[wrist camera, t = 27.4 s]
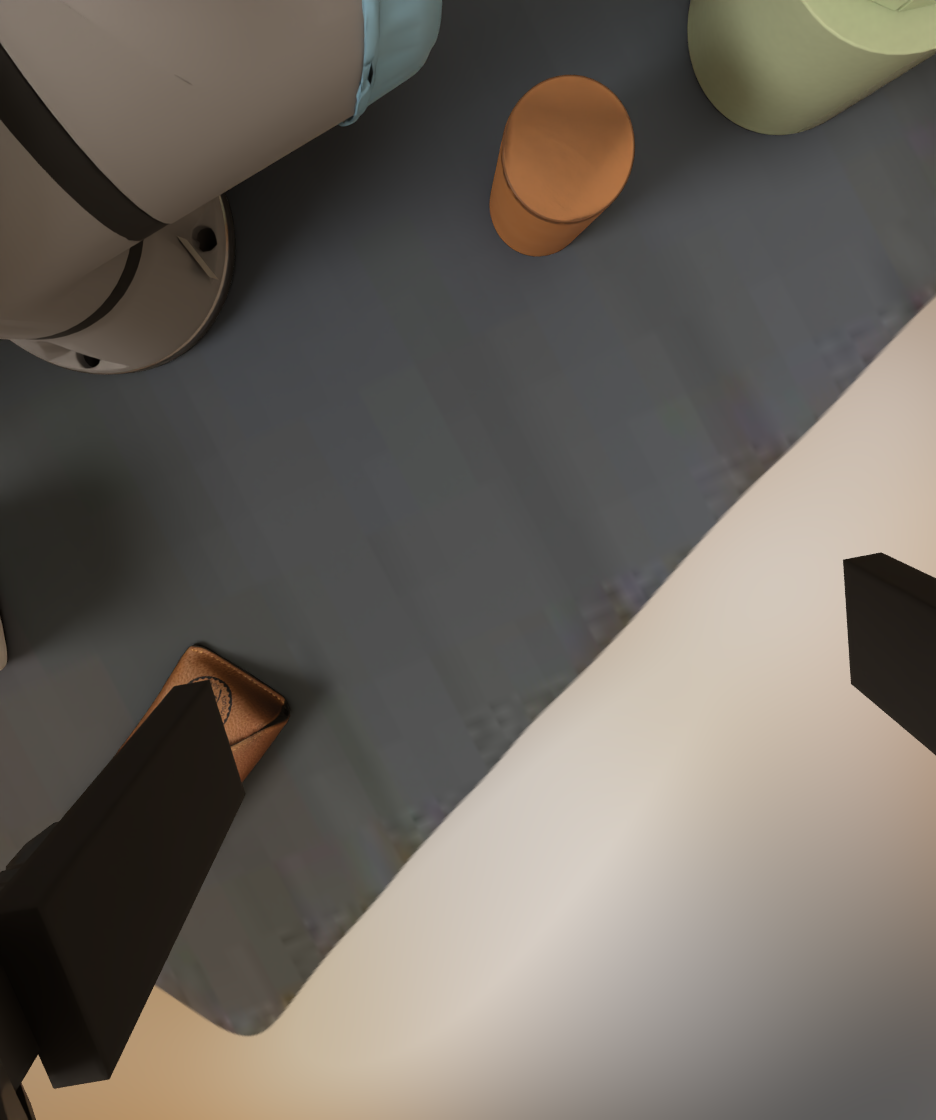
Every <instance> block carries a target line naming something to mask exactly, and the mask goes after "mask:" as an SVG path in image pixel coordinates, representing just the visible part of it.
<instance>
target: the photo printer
mask: <svg viewBox="0 0 936 1120" xmlns="http://www.w3.org/2000/svg"><path fill="white" fill-rule="evenodd" d="M6 664H7V648H6V642H5V637H4V632H3V627H2V622H1V617H0V671H1V670H2V669H3V668H4V667H5V666H6Z"/></svg>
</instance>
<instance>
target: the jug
mask: <svg viewBox="0 0 936 1120" xmlns="http://www.w3.org/2000/svg"><path fill="white" fill-rule="evenodd" d="M687 32H688V47H689V53H690V59H691V62H692V66H693V69H694V72H695V75H696V77H697V79H698V82H699V84H700V86H701V88H702V89H703V91H704V93H705V94H706V96H707V98H708V99H709V100H710V101H711V103H712V104H713V105H714V106H715V107H716V108H717V109H718V110H719V111H720V112H721V113H722V114H723V115H724V116H725V117H727V118H728V119H730V120H731V121H732V122H734V123H735V124H737V125H739V126H741V127H743V128H745V129H748V130H751V131H754V132H757V133H763V134H769V135H787V134H794V133H799V132H803V131H806V130H810V129H812V128H814V127H816V126H819V125H821V124H823V123H825V122H826V121H828V120H830V119H831V118H833V117H835V116H836V115H838V114H839V113H841V112H843V111H844V110H846V109H847V108H849V107H851V106H852V105H854V104H855V103H857V102H859V101H860V100H862V99H864V98H865V97H867V96H868V95H870V94H872V93H873V92H875V91H876V90H878V89H880V88H881V87H883V86H884V85H886V84H888V83H889V82H891V81H892V80H894V79H896V78H897V77H899V76H901V75H902V74H904V73H905V72H907V71H909V70H910V69H912V68H913V67H915V66H917V65H918V64H920V63H921V62H923V61H925V60H926V59H928V58H930V57H931V56H933V55H934V54H936V0H691V2H690V7H689V13H688V27H687Z"/></svg>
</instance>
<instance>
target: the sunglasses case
mask: <svg viewBox="0 0 936 1120" xmlns="http://www.w3.org/2000/svg"><path fill="white" fill-rule="evenodd" d="M204 680H210V683H211V686H212V689H213V692H214V696H215V699H216V702H217V705H218V708H219V712H220V715H221V718H222V721H223V724H224V727H225V731H226V734H227V737H228V740H229V743H230V747H231V750H232V753H233V756H234V759H235V763H236V766H237V769H238V772H239V775H240V778H241V782H243V781H244V779H245V778H246V777H247V776H248V774H249V773H250V772H251V770H252V769H253V768H254V766H255V765H256V764H257V763H258V761H259V760H260V759H261V757H262V756H263V755H264V753H265V752H266V750H267V749H268V748H269V747H270V745H271V744H272V742H273V741H274V740H275V738H276V737H277V735H278V734H279V733H280V731H281V730H282V728H283V727H284V726H285V724H286V723H287V722H288V719H289V717H290V708H289V706H288V703H287V702H286V700H285V698H284V697H283V696H281V695H280V694H279V693H277V692H276V691H274V690H273V689H271V688H270V687H269V686H267V685H266V684H264V683H263V682H261V681H260V680H258V679H257V678H255V677H254V676H252V675H251V674H249V673H247V672H246V671H244V670H243V669H241V668H239V667H238V666H236V665H234V664H233V663H231V662H229V661H227V660H226V659H224V658H222V657H220V656H219V655H217V654H216V653H214V652H212V651H210V650H209V649H206V648H204V647H202V646H190V647H189V648H188V649H187V650H186V652H185V653H184V654H183V656H182V657H181V659H180V660H179V662H178V664H177V665H176V667H175V668H174V670H173V672H172V673H171V676H170V677H169V678H168V680H167V681H166V683H165V685H164V686H163V689H162V690H161V692H160V693H159V695H158V696H157V698H156V699H155V701H154V702H153V704H152V705H151V707H150V708H149V709H148V711H147V713H146V714H145V715H144V717H143V718H142V719H141V721H140V722H139V724H138V725H137V726H136V728H135V729H134V730H133V732H132V733H131V735H130V736H129V737H128V739H127V740H126V742H127V741H128V740H129V739H130V737H131V736H132V735H133V734H134V733H135V731H136V730H137V729H138V728H139V727H140V726H141V724H142V723H143V722H144V721H145V720H146V718H147V717H148V716H149V715H150V714H151V713H152V711H153V710H154V709H155V708H156V707H157V705H158V704H159V703H160V702H161V701H162V700H163V698H164V697H165V696H166V695H167V694H168V692H169V691H170V690H171V689H172V688H173V687H174V686H178V685H183V684H188V683H194V682H199V681H204ZM126 742H125V743H126ZM125 743H124V744H125ZM124 744H123V745H122V747H123V746H124ZM122 747H121V748H122ZM121 748H120V749H121ZM120 749H119V750H120ZM119 750H118V752H119ZM118 752H117V753H118ZM117 753H116V754H117ZM113 758H114V757H113ZM63 817H64V816H63Z"/></svg>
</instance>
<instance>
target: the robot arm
mask: <svg viewBox="0 0 936 1120" xmlns="http://www.w3.org/2000/svg"><path fill="white" fill-rule="evenodd" d="M441 12H442V0H0V339H9V340H11V341H12V342H14V343H15V344H17V345H18V346H20V347H21V348H23V349H25V350H26V351H28V352H29V353H31V354H33V355H35V356H37V357H39V358H41V359H43V360H45V361H47V362H50V363H52V364H54V365H57V366H60V367H63V368H66V369H69V370H73V371H78V372H83V373H91V374H123V373H134V372H140V371H145V370H149V369H152V368H155V367H158V366H161V365H163V364H166V363H168V362H170V361H172V360H174V359H175V358H177V357H179V356H181V355H182V354H183V353H185V352H186V351H188V350H189V349H190V348H191V347H193V346H194V345H195V344H196V343H197V342H198V341H199V340H200V339H201V338H202V337H203V336H204V335H205V334H206V333H207V331H208V330H209V329H210V327H211V326H212V325H213V323H214V322H215V320H216V318H217V317H218V315H219V313H220V312H221V310H222V307H223V305H224V303H225V301H226V298H227V295H228V292H229V289H230V286H231V282H232V278H233V273H234V265H235V249H236V244H235V230H234V224H233V217H232V213H231V209H230V205H229V202H228V199H227V196H226V193H225V192H226V191H227V190H229V189H231V188H232V187H234V186H236V185H237V184H239V183H241V182H242V181H244V180H246V179H247V178H249V177H251V176H252V175H254V174H256V173H257V172H259V171H261V170H262V169H264V168H266V167H267V166H269V165H271V164H272V163H274V162H276V161H277V160H279V159H281V158H282V157H284V156H286V155H287V154H289V153H291V152H292V151H294V150H296V149H297V148H299V147H301V146H302V145H304V144H306V143H307V142H309V141H311V140H312V139H314V138H316V137H317V136H319V135H321V134H322V133H324V132H326V131H327V130H329V129H331V128H332V127H334V126H336V125H337V124H338V125H339V126H342V127H343V126H348V125H350V124H352V123H354V122H356V121H357V120H358V118H359V117H360V116H361V115H362V114H363V113H364V111H365V110H366V108H367V106H369V105H370V104H372V103H373V102H375V101H376V100H378V99H379V98H381V97H382V96H384V95H385V94H387V93H388V92H390V91H391V90H393V89H394V88H396V87H397V86H399V85H400V84H402V83H403V82H405V81H406V80H408V79H409V78H411V77H412V76H413V75H414V74H416V73H417V72H418V71H419V70H420V68H421V67H422V66H423V65H424V63H425V62H426V60H427V58H428V55H429V54H430V50H431V49H432V47H433V46H434V44H435V42H436V39H437V37H438V33H439V28H440V23H441ZM843 566H844V580H845V597H846V612H847V628H848V644H849V660H850V674H851V684H852V685H853V686H854V687H856V688H857V689H858V690H859V691H860V692H861V693H863V694H864V695H865V696H866V697H867V698H869V699H870V700H871V701H872V702H873V703H875V704H876V705H877V706H878V707H879V708H880V709H882V710H883V711H884V712H885V713H886V714H888V715H889V716H890V717H891V718H892V719H893V720H895V721H896V722H897V723H898V724H899V725H901V726H902V727H903V728H904V729H905V730H907V731H908V732H909V733H910V734H911V735H913V736H914V737H915V738H916V739H917V740H918V741H920V742H921V743H922V744H923V745H925V746H926V747H927V748H928V749H929V750H930V751H932V752H933V753H934V754H935V755H936V578H934V577H932V576H930V575H928V574H925V573H923V572H921V571H919V570H917V569H915V568H913V567H911V566H909V565H907V564H904V563H902V562H900V561H898V560H896V559H894V558H891V557H890V556H888V555H886V554H883V553H876V554H871V555H866V556H860V557H855V558H850V559H845V560H843ZM244 796H245V791H244V788H243V785H242V782H241V778H240V775H239V772H238V769H237V766H236V763H235V759H234V756H233V753H232V750H231V747H230V743H229V740H228V737H227V734H226V731H225V727H224V724H223V721H222V718H221V715H220V712H219V708H218V705H217V702H216V699H215V696H214V692H213V689H212V686H211V683H210V680H204V681H199V682H194V683H188V684H183V685H178V686H174V687H173V688H172V689H171V690H170V691H169V692H168V694H167V695H166V696H165V697H164V698H163V700H162V701H161V702H160V703H159V704H158V705H157V707H156V708H155V709H154V710H153V711H152V713H151V714H150V715H149V716H148V717H147V718H146V720H145V721H144V722H143V723H142V724H141V726H140V727H139V728H138V729H137V730H136V731H135V733H134V734H133V735H132V736H131V737H130V739H129V740H128V741H127V742H126V743H125V744H124V746H123V747H122V748H121V749H120V750H119V752H118V753H117V754H116V755H115V756H114V758H113V759H112V760H111V761H110V762H109V763H108V765H107V766H106V767H105V768H104V769H103V771H102V772H101V773H100V774H99V775H98V776H97V778H96V779H95V780H94V781H93V782H92V784H91V785H90V786H89V787H88V788H87V789H86V791H85V792H84V793H83V794H82V795H81V797H80V798H79V799H78V800H77V801H76V802H75V804H74V805H73V806H72V807H71V808H70V810H69V811H68V812H67V813H66V814H65V815H64V817H63V818H62V819H61V820H60V821H59V822H55V823H53V824H52V825H50V826H49V827H48V828H46V829H45V830H44V831H42V832H41V833H40V834H38V835H37V836H36V837H34V838H33V839H32V840H30V841H29V842H28V843H26V844H25V845H24V846H23V848H22V849H21V850H20V851H19V852H18V853H17V854H16V856H15V857H14V858H13V859H12V860H11V861H10V862H9V864H8V865H7V866H6V870H5V871H2V872H1V873H0V1120H36V1118H35V1115H34V1112H33V1109H32V1106H31V1103H30V1101H29V1099H28V1097H27V1094H26V1092H25V1090H24V1088H23V1085H22V1083H21V1082H22V1080H23V1079H24V1077H25V1075H26V1074H27V1072H28V1070H29V1069H30V1067H31V1065H32V1063H33V1062H34V1060H35V1058H36V1057H37V1055H39V1057H40V1059H41V1061H42V1064H43V1066H44V1068H45V1070H46V1072H47V1075H48V1076H49V1079H50V1082H51V1084H52V1086H53V1088H61V1087H67V1086H73V1085H79V1084H84V1083H90V1082H96V1081H102V1080H108V1079H110V1077H111V1075H112V1073H113V1070H114V1068H115V1066H116V1064H117V1062H118V1060H119V1058H120V1056H121V1054H122V1052H123V1050H124V1048H125V1045H126V1043H127V1041H128V1039H129V1037H130V1035H131V1033H132V1031H133V1029H134V1027H135V1025H136V1023H137V1020H138V1018H139V1016H140V1014H141V1012H142V1010H143V1008H144V1005H145V1004H146V1002H147V999H148V997H149V995H150V993H151V991H152V989H153V987H154V985H155V983H156V981H157V979H158V976H159V974H160V972H161V970H162V968H163V966H164V964H165V962H166V960H167V958H168V956H169V953H170V951H171V949H172V947H173V945H174V943H175V941H176V939H177V937H178V935H179V932H180V930H181V928H182V926H183V924H184V922H185V920H186V918H187V916H188V914H189V912H190V909H191V907H192V905H193V903H194V901H195V899H196V897H197V895H198V893H199V891H200V888H201V886H202V884H203V882H204V880H205V878H206V876H207V874H208V872H209V870H210V868H211V865H212V863H213V861H214V859H215V857H216V855H217V853H218V851H219V849H220V847H221V844H222V842H223V840H224V838H225V836H226V834H227V832H228V830H229V828H230V826H231V824H232V821H233V819H234V817H235V815H236V813H237V811H238V809H239V807H240V805H241V803H242V800H243V798H244Z"/></svg>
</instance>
